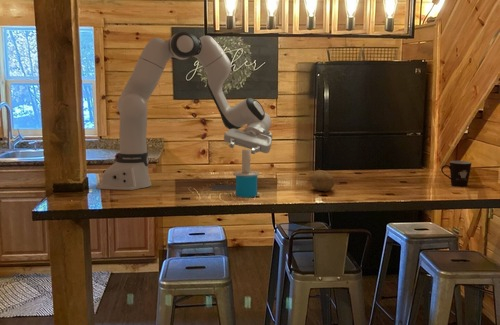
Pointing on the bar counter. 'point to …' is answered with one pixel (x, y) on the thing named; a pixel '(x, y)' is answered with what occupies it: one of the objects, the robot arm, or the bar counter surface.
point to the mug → (246, 186)
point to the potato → (322, 180)
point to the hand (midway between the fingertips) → (241, 149)
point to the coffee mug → (459, 173)
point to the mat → (223, 187)
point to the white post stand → (246, 166)
